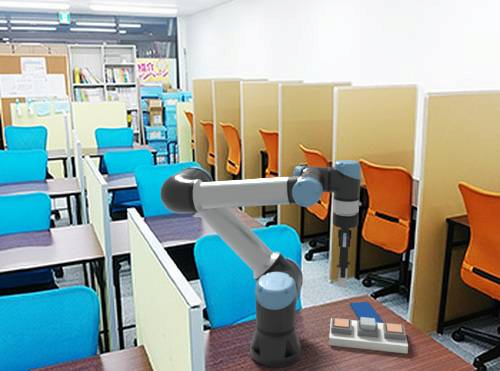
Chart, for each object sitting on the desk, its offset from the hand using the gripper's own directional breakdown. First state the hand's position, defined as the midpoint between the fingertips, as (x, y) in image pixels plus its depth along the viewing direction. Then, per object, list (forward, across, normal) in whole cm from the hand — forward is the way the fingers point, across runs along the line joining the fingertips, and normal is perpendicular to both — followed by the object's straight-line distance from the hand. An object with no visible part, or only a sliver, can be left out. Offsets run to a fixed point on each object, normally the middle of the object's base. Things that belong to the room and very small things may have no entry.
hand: (342, 285), depth 144 cm
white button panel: (+17, 0, -8) cm, 19 cm away
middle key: (+13, 0, -8) cm, 16 cm away
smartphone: (+18, +16, -8) cm, 25 cm away
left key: (+15, 0, 0) cm, 15 cm away
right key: (+15, 0, -16) cm, 22 cm away
